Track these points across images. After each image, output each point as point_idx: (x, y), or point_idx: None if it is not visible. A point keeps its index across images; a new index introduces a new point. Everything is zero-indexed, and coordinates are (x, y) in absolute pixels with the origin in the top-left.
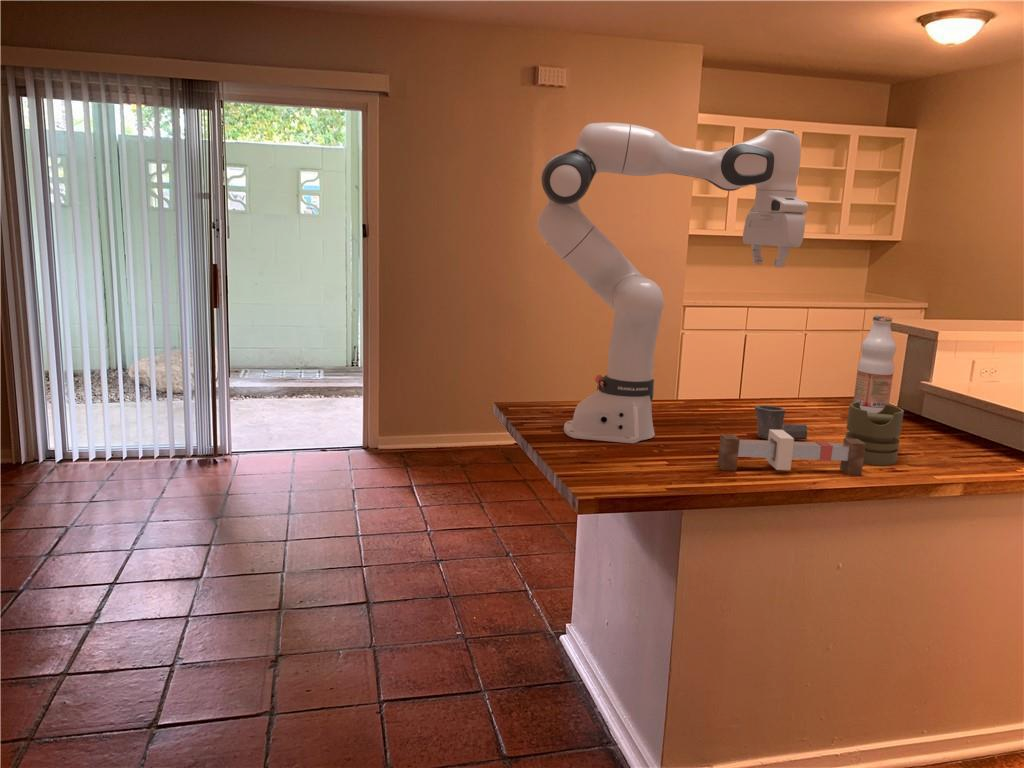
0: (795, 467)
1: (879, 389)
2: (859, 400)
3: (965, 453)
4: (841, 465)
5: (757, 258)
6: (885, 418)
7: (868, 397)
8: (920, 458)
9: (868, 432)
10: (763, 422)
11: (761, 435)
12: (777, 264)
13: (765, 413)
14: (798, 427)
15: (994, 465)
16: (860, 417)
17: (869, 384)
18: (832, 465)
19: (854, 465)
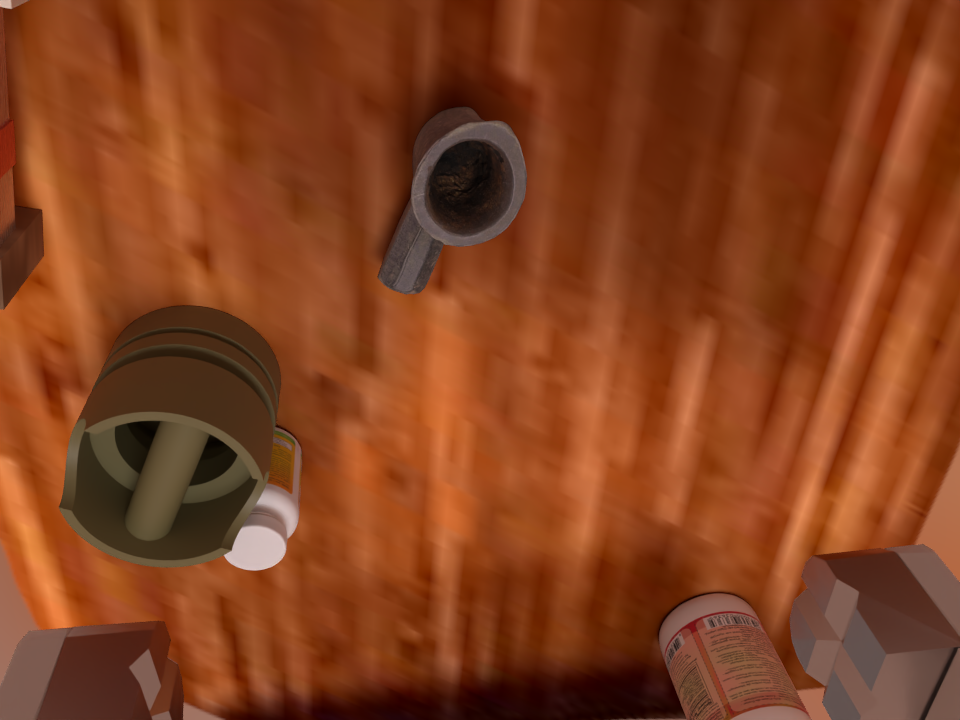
0: (35, 39)
1: (689, 693)
2: (718, 625)
3: (262, 643)
4: (27, 214)
5: (863, 651)
6: (138, 489)
7: (697, 649)
8: None
9: (97, 390)
10: (442, 127)
11: (443, 111)
12: (14, 659)
13: (435, 140)
14: (398, 258)
15: None
16: (113, 401)
17: (716, 685)
18: (86, 206)
19: None
